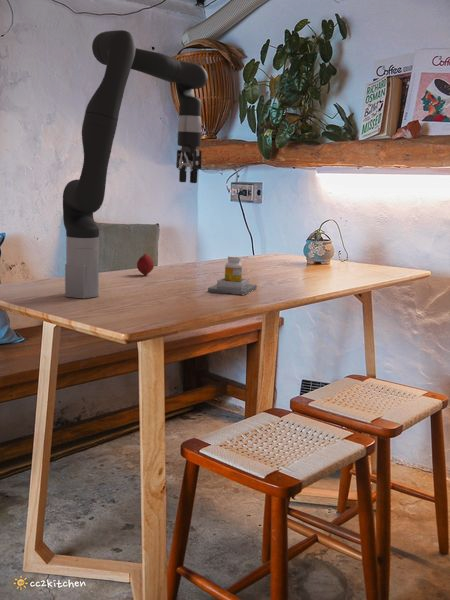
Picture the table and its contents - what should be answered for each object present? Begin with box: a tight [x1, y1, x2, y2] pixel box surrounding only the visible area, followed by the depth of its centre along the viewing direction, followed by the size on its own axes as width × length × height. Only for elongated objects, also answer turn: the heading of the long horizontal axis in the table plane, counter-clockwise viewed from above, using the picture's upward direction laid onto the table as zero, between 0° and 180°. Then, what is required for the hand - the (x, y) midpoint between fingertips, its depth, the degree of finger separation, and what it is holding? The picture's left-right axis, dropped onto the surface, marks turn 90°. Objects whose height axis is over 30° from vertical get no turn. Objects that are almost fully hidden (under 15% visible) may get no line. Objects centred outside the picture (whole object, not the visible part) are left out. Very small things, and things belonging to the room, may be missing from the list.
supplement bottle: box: [224, 255, 243, 282], centre depth 217 cm, size 5×5×10 cm
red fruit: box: [136, 252, 155, 276], centre depth 240 cm, size 6×6×8 cm
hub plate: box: [207, 276, 258, 296], centre depth 218 cm, size 14×12×3 cm
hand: (187, 182), depth 221 cm, fingers open, 8 cm apart
